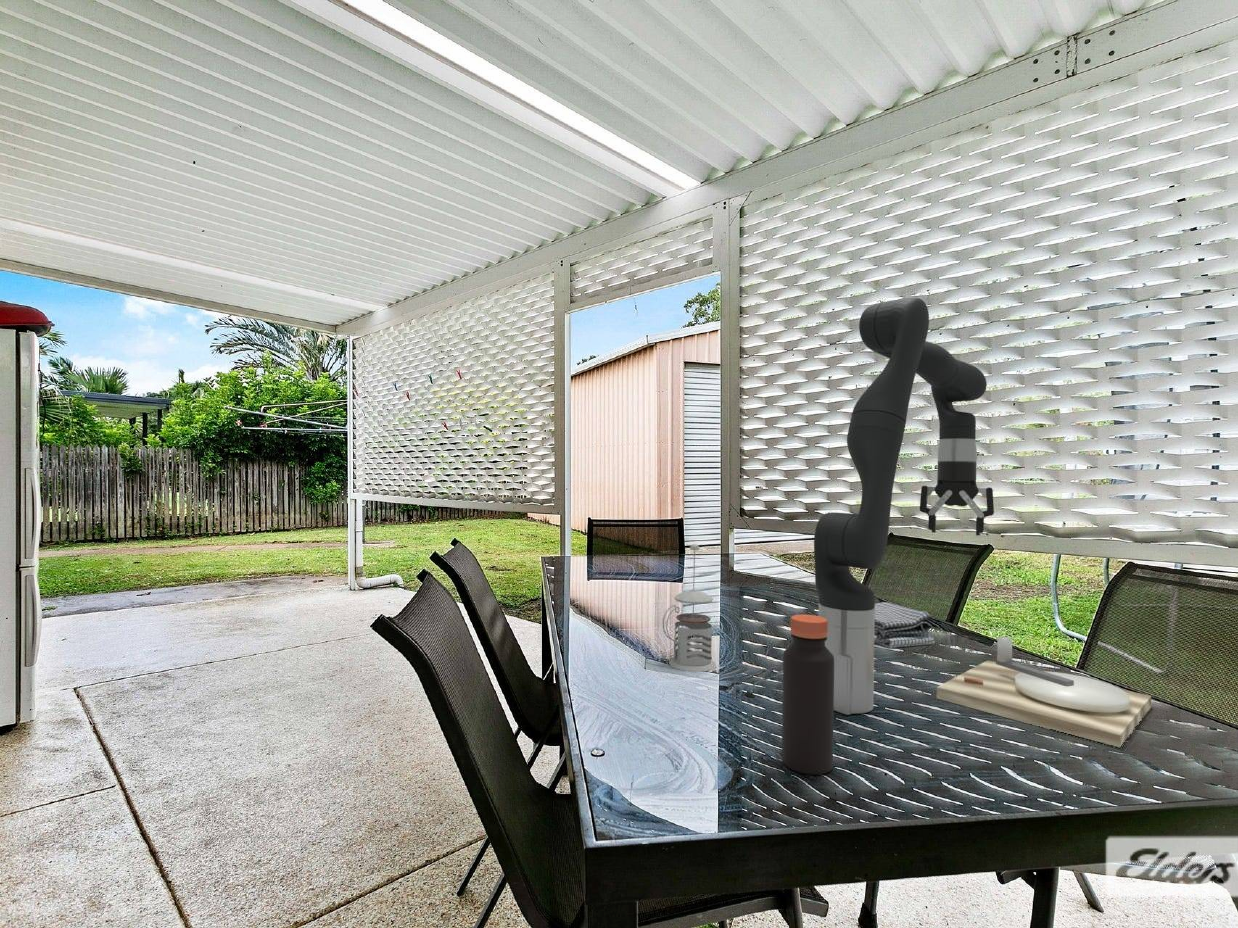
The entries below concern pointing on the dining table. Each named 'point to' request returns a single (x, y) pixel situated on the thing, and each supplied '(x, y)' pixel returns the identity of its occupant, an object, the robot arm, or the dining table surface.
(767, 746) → the dining table surface
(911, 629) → the towel
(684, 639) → the french press
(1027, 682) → the dial
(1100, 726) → the cutting board
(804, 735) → the bottle
